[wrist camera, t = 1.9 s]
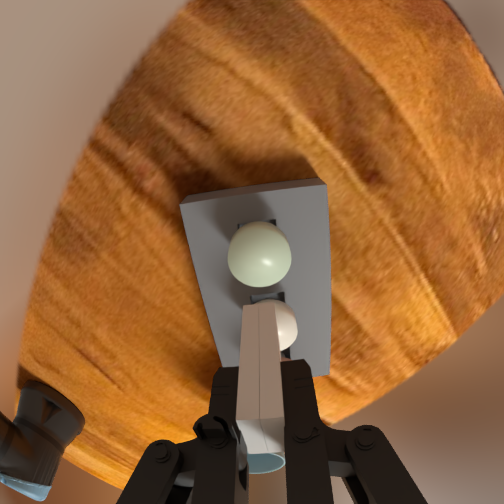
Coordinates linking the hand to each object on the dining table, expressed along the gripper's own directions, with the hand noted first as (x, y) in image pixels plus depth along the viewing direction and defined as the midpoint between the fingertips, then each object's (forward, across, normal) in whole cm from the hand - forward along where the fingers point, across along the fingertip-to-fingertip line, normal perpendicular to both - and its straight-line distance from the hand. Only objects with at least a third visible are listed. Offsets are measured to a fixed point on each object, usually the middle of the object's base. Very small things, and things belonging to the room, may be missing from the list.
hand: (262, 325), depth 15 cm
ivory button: (+11, 0, -7) cm, 13 cm away
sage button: (+11, 0, 0) cm, 11 cm away
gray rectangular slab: (+14, 0, -7) cm, 16 cm away
